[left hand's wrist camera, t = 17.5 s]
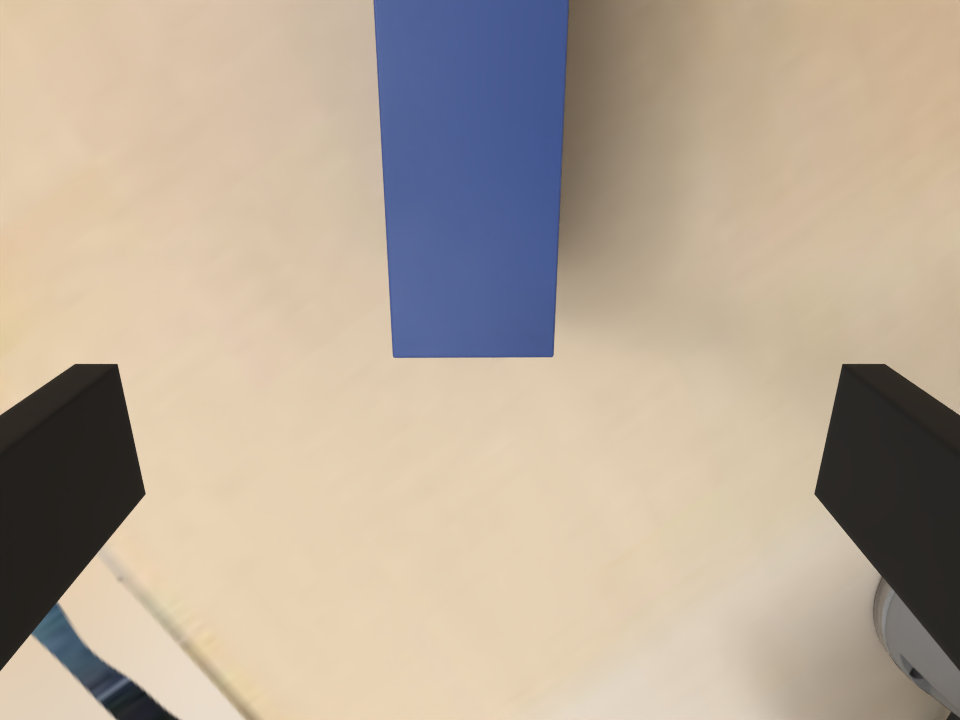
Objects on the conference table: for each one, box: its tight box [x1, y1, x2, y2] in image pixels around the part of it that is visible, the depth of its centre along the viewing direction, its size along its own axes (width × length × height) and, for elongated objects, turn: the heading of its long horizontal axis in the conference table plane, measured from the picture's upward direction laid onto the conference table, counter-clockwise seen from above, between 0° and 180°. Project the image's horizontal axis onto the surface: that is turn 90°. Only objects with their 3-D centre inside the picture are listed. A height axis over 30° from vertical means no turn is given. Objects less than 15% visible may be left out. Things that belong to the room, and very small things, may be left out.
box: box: [374, 0, 569, 358], centre depth 26 cm, size 23×6×12 cm, turn 0°
